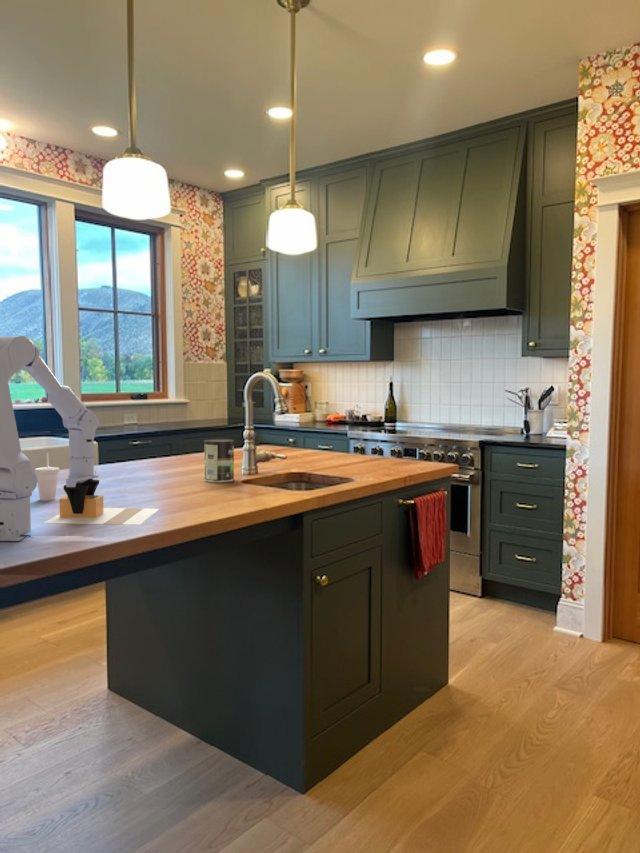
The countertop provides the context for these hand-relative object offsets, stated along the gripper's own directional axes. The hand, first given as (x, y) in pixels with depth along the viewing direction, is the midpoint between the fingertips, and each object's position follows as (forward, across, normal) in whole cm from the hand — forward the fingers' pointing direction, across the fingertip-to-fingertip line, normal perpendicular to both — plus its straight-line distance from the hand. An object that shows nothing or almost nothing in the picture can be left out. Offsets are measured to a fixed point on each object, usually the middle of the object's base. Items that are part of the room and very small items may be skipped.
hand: (82, 511), depth 157 cm
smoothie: (+2, +19, +17) cm, 26 cm away
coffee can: (+2, +62, -24) cm, 67 cm away
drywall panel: (+2, 0, -6) cm, 6 cm away
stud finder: (+1, 0, 0) cm, 1 cm away
